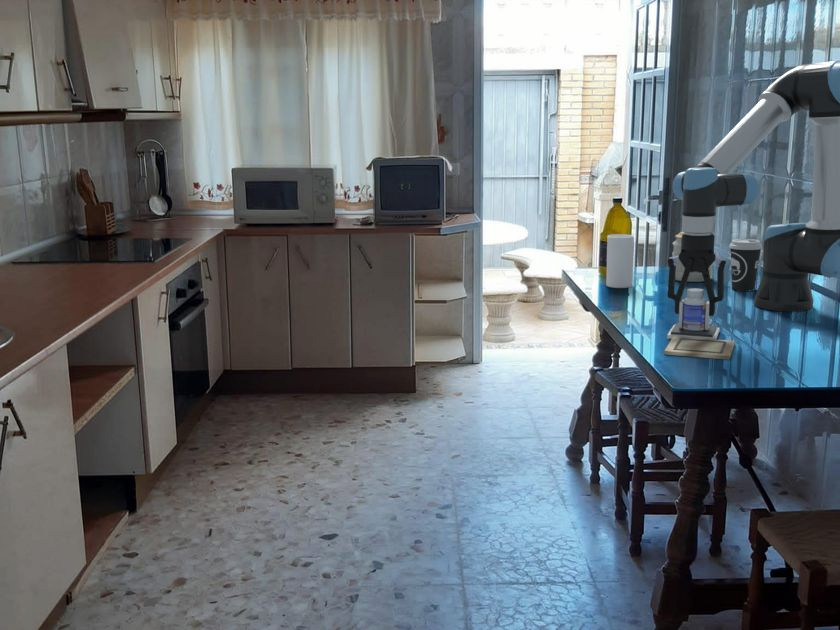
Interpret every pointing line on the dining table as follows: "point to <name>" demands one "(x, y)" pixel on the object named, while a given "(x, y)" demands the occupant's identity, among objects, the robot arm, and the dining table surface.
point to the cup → (620, 260)
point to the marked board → (700, 347)
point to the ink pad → (693, 333)
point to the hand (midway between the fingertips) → (693, 327)
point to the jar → (680, 268)
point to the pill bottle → (694, 310)
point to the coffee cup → (744, 263)
